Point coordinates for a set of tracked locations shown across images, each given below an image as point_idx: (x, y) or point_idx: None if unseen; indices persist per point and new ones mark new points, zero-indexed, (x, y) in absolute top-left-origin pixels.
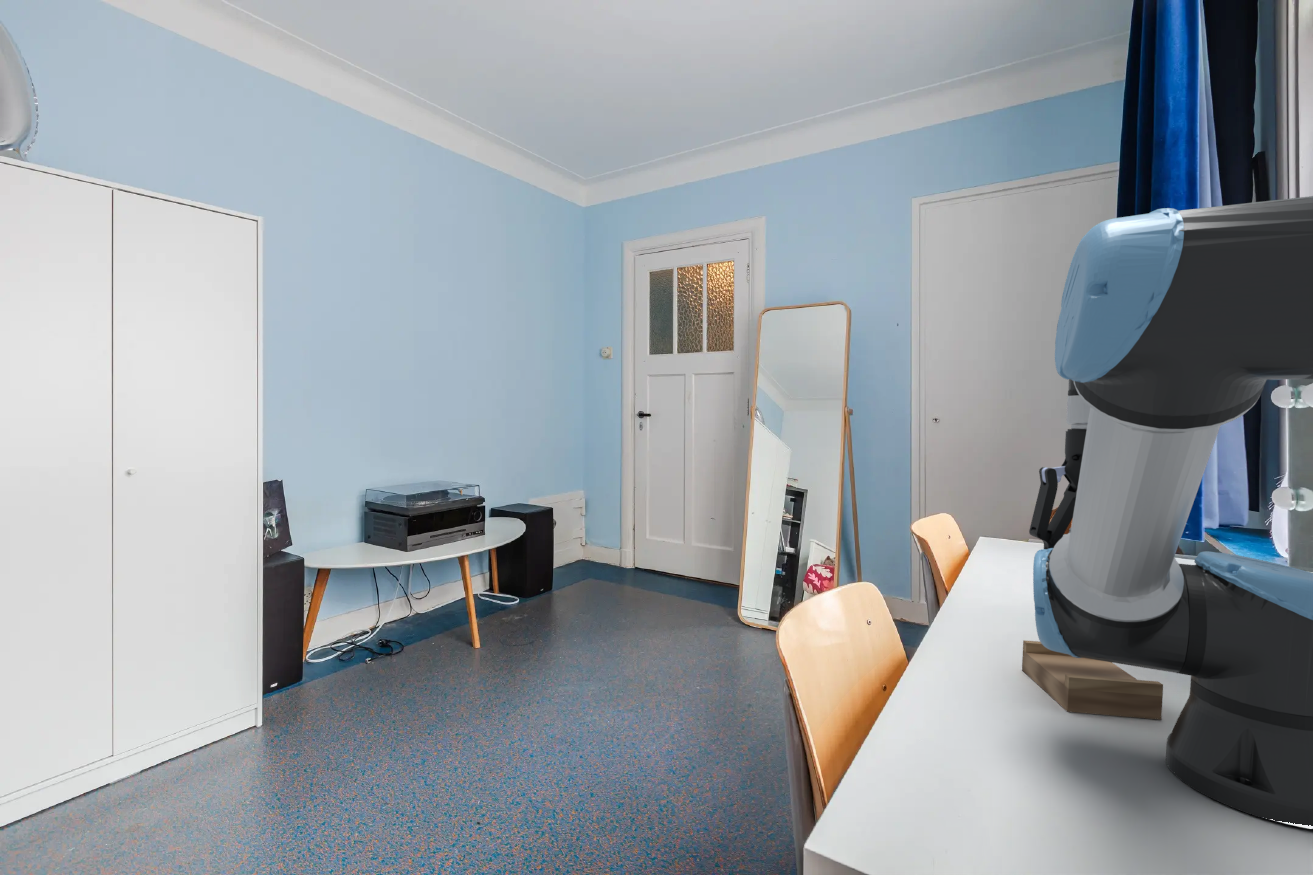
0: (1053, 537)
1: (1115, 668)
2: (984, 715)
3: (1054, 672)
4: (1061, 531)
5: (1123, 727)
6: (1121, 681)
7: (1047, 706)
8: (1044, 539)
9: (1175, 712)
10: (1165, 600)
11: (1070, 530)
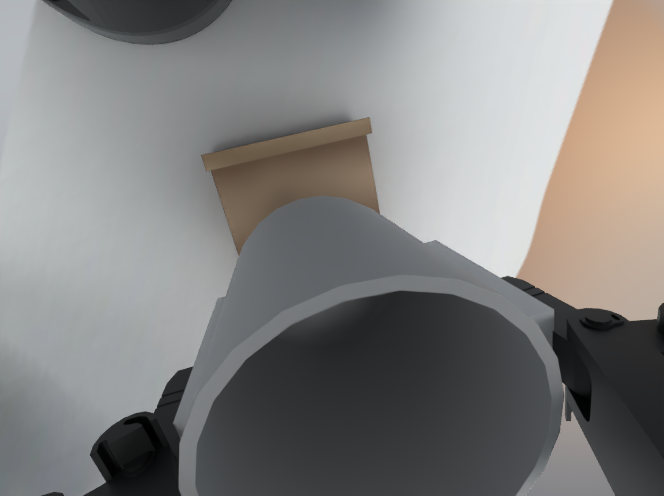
0: (622, 325)
1: None
2: (482, 45)
3: (367, 198)
4: (620, 364)
5: (281, 90)
6: (276, 138)
7: (378, 132)
8: (635, 325)
9: (182, 200)
10: None
11: (558, 416)
